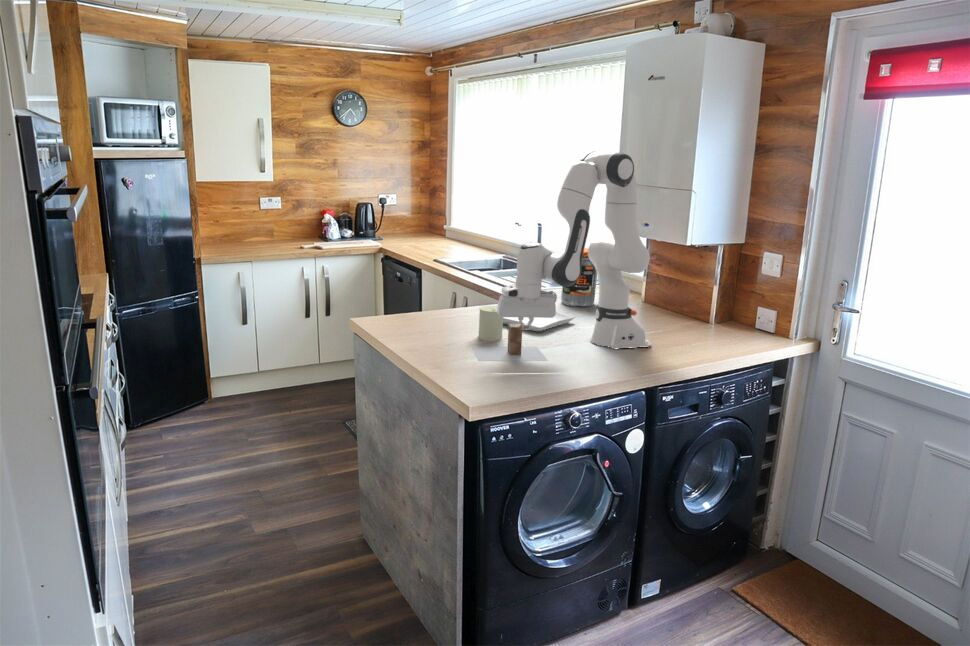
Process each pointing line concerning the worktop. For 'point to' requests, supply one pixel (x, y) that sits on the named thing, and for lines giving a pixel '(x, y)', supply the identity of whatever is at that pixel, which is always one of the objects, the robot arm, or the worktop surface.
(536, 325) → the square plate
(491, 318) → the can
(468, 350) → the worktop surface
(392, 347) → the worktop surface
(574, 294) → the supplement tub
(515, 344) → the brown box
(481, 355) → the grey mat
